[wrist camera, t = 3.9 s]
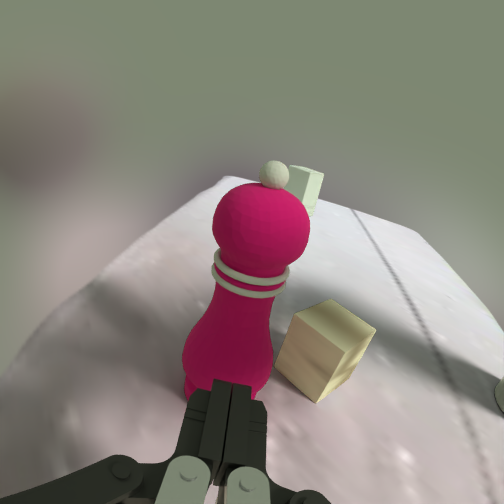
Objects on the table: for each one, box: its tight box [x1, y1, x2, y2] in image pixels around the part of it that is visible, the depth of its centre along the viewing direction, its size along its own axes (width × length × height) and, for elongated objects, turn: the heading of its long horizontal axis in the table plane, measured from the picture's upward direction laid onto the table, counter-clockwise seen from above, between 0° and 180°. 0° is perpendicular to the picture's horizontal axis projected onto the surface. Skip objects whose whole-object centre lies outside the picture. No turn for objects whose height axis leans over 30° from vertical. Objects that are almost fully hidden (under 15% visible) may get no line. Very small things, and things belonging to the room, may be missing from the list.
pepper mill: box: [182, 161, 310, 400], centre depth 21 cm, size 7×7×20 cm
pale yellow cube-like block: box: [274, 299, 376, 403], centre depth 29 cm, size 6×6×7 cm
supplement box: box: [284, 165, 324, 216], centre depth 83 cm, size 7×7×13 cm
